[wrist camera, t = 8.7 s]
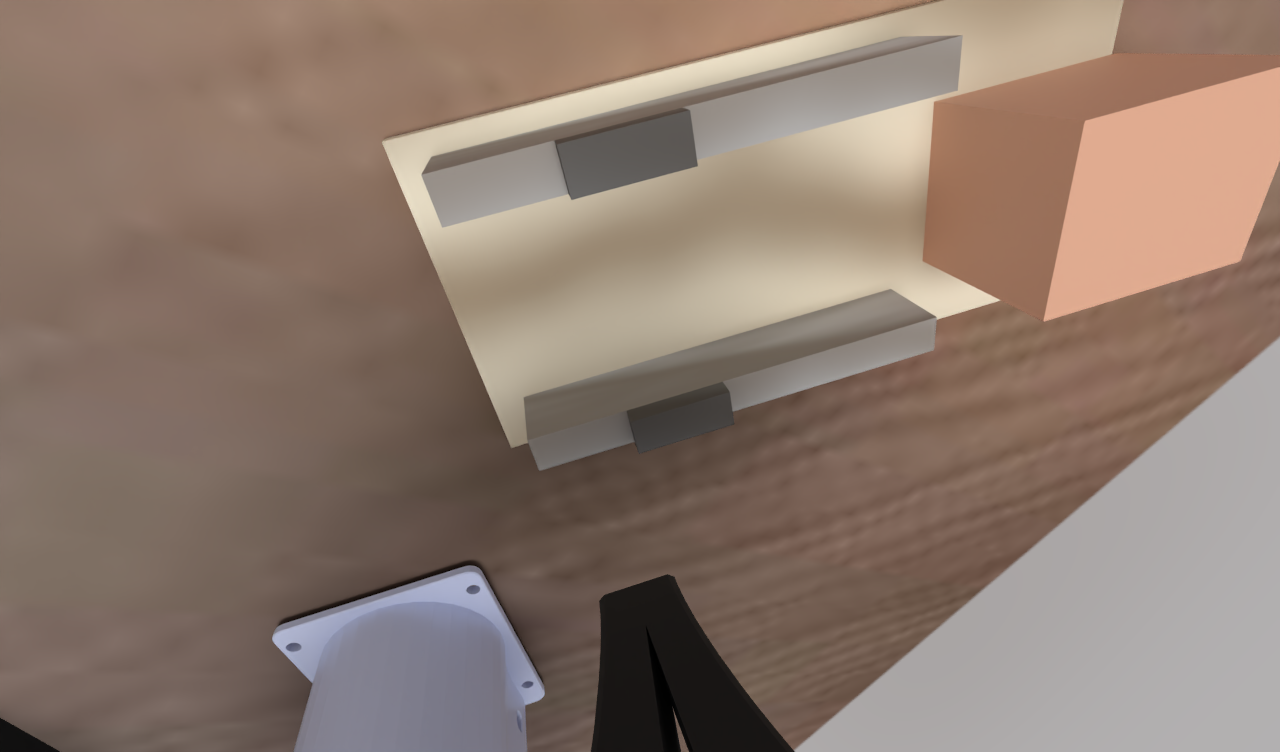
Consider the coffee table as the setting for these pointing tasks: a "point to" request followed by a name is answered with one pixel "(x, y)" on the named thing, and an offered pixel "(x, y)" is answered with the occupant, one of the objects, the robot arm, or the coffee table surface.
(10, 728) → the energy cube
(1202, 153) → the block
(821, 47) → the chute
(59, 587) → the coffee table surface
